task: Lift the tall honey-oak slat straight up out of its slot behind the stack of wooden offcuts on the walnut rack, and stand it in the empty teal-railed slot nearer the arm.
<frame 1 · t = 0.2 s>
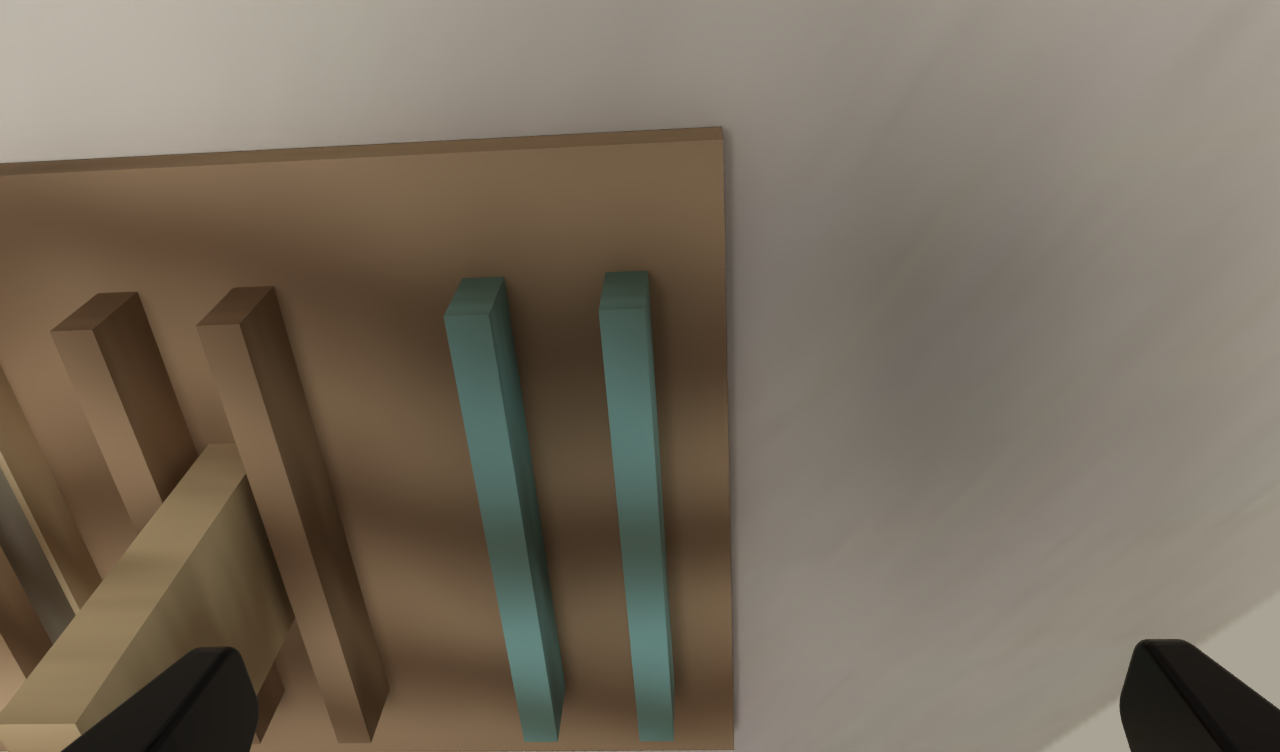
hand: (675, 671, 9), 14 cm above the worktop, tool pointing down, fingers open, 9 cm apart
sheet: (262, 517, 26), point 1 cm above the worktop, touching rack
offcut stack: (7, 523, 26), point 1 cm above the worktop, touching rack
rack: (276, 495, 27), on the worktop
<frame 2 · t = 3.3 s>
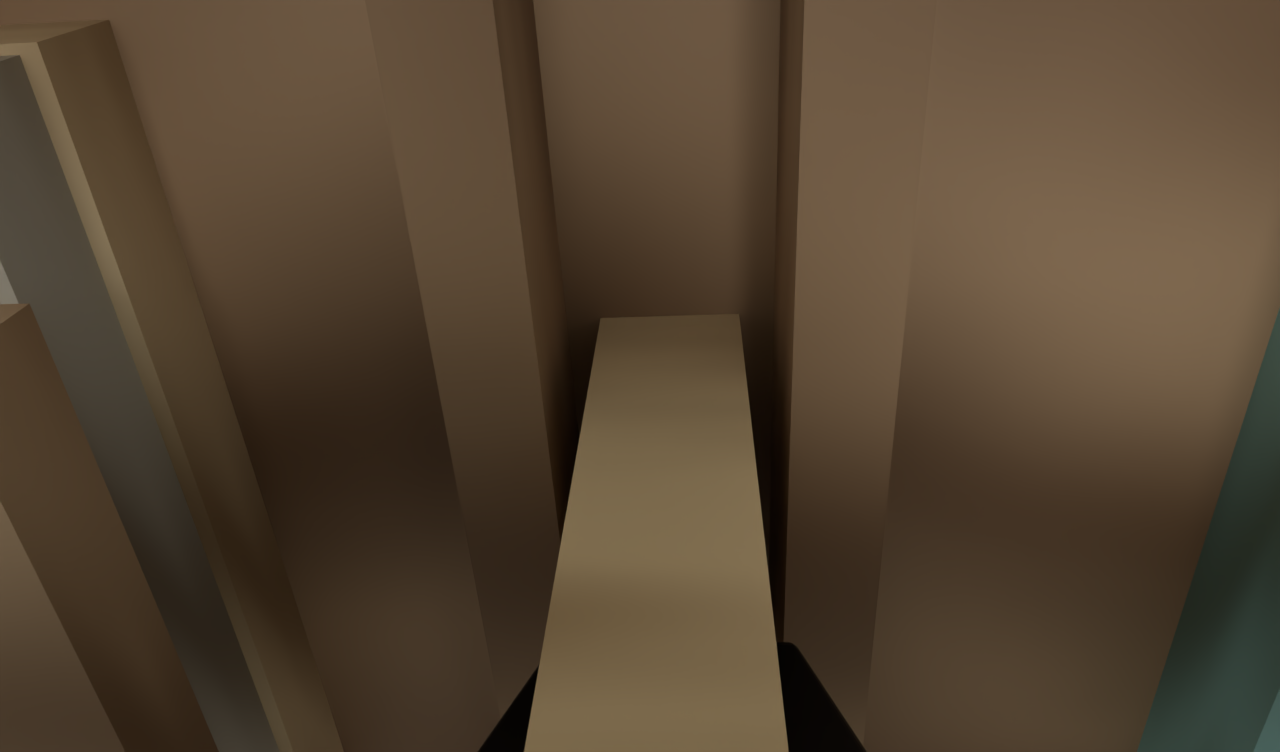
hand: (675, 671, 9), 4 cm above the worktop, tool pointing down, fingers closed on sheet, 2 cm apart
sheet: (676, 489, 12), point 1 cm above the worktop, touching gripper, rack
offcut stack: (117, 499, 12), point 1 cm above the worktop, touching rack
rack: (677, 446, 13), on the worktop
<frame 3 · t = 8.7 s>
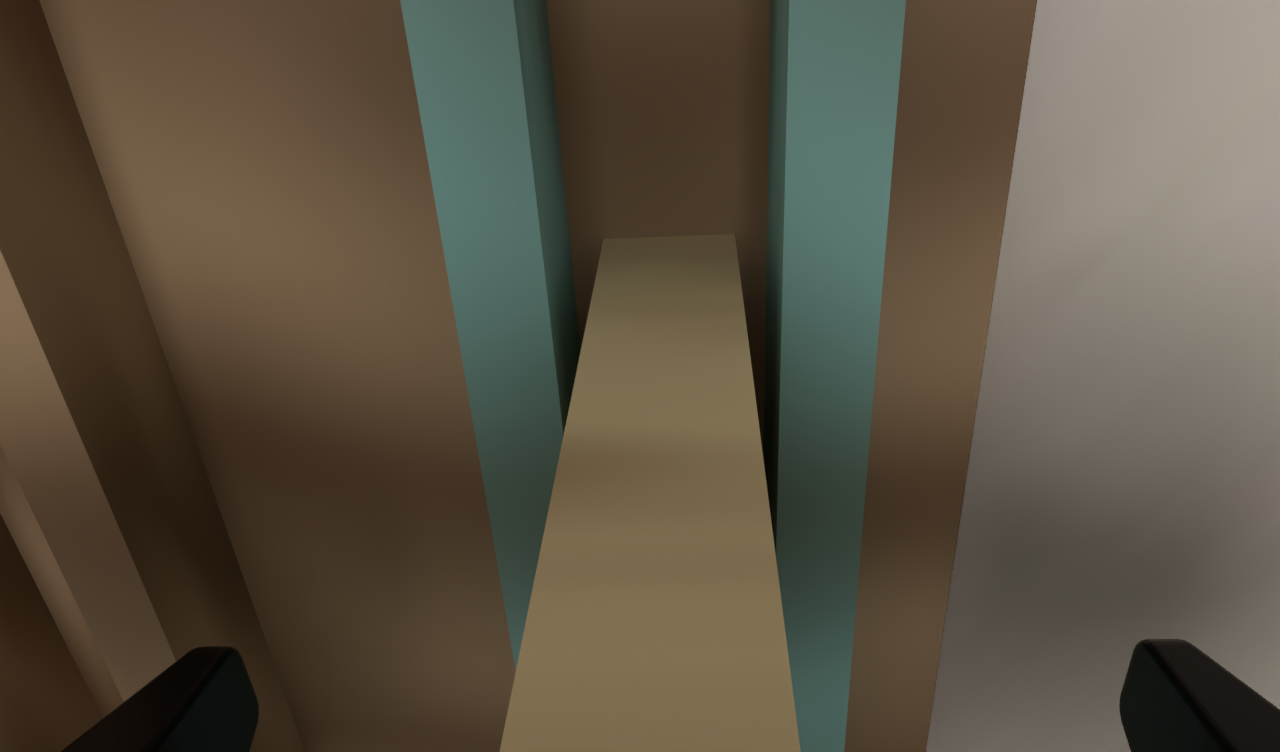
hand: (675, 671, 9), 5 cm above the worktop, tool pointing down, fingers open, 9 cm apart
sheet: (676, 410, 13), point 1 cm above the worktop, touching rack
rack: (91, 422, 14), on the worktop
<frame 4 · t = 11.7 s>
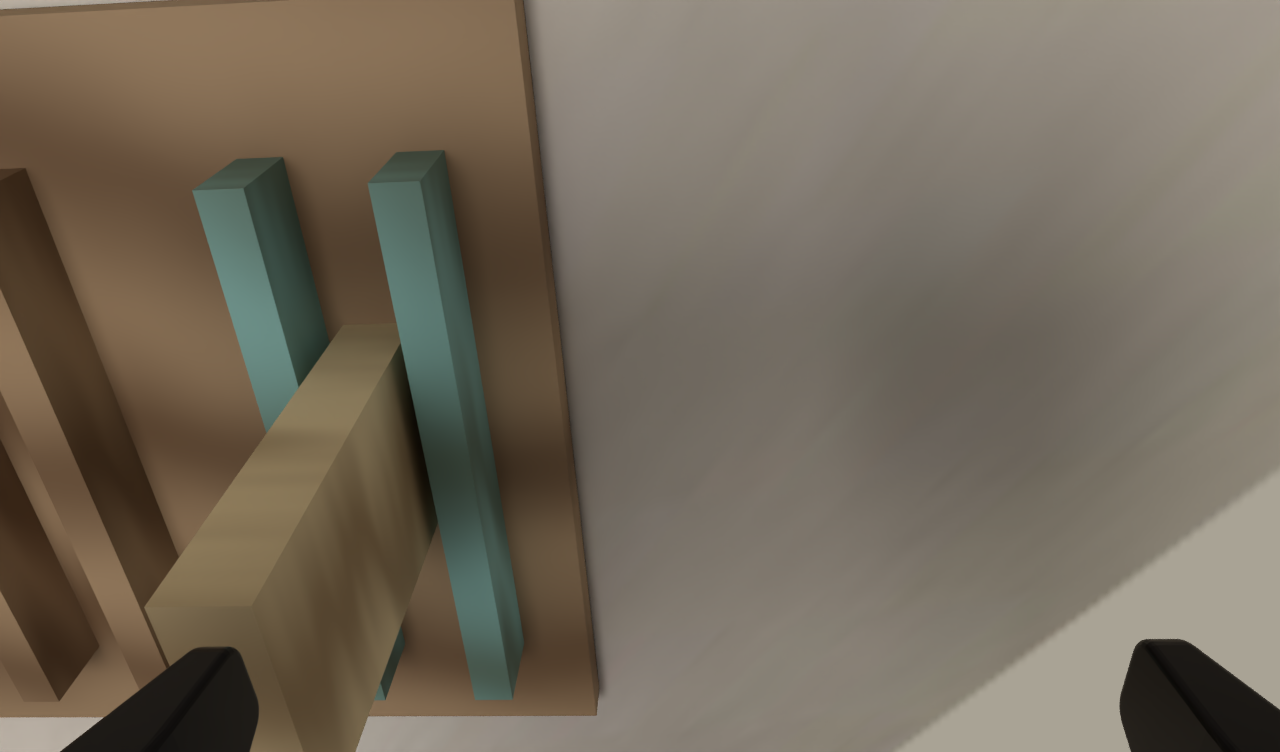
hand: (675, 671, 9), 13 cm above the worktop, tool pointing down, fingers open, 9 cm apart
sheet: (397, 416, 22), point 1 cm above the worktop, touching rack
rack: (71, 422, 24), on the worktop
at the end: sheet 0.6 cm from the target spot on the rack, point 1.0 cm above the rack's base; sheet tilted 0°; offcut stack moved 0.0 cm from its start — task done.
